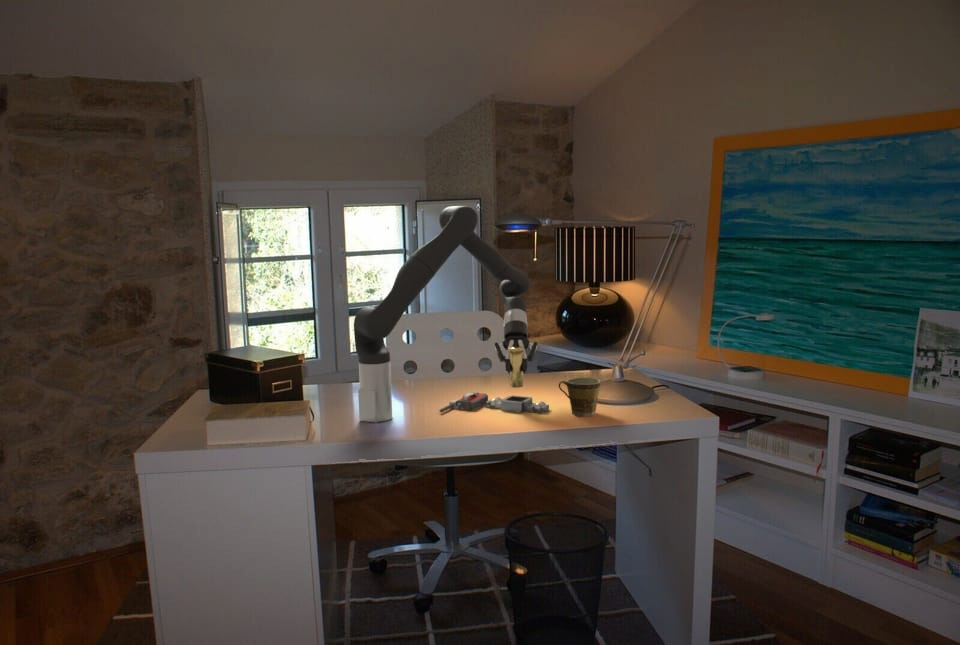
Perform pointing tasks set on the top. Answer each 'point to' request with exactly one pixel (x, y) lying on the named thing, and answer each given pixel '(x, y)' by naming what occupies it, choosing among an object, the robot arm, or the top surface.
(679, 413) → the top surface
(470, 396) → the walkie-talkie
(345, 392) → the top surface
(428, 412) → the top surface
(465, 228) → the robot arm
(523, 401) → the chain end
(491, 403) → the chain end
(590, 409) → the ceramic cup
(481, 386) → the top surface
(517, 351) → the link pin
